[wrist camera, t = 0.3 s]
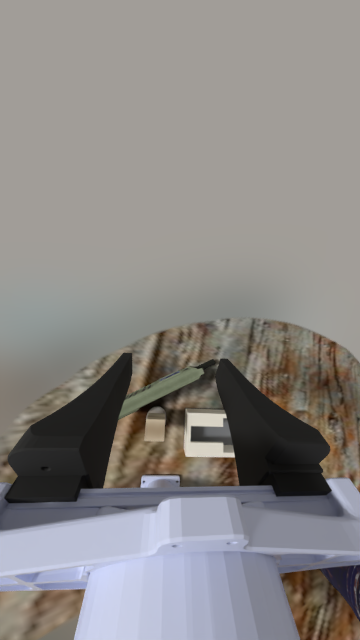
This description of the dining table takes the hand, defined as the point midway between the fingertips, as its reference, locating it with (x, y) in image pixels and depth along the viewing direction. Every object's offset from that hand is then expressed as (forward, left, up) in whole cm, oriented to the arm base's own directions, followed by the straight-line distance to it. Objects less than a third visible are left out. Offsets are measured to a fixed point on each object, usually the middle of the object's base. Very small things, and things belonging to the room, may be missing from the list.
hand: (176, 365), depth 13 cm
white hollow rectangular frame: (-14, -13, -28) cm, 34 cm away
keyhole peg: (-12, +1, -29) cm, 31 cm away
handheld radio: (-5, -1, -29) cm, 29 cm away
